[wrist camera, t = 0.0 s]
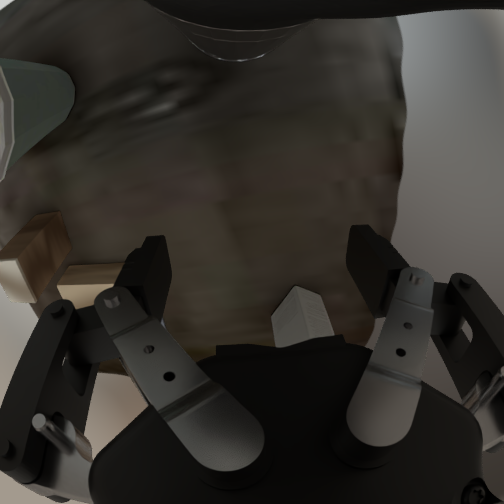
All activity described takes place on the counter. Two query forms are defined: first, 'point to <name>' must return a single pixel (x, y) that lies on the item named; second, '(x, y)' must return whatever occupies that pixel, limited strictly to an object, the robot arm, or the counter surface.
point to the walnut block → (33, 257)
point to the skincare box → (300, 318)
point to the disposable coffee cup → (30, 106)
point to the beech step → (87, 282)
